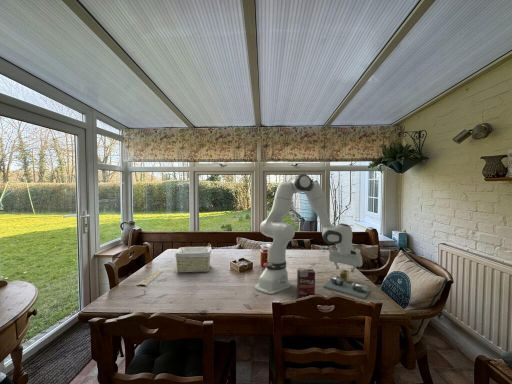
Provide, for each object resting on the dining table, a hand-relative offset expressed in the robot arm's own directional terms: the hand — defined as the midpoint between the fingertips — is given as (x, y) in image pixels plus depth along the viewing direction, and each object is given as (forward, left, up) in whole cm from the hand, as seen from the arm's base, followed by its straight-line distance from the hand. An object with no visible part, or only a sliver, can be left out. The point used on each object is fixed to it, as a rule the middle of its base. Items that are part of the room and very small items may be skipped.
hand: (345, 270), depth 149 cm
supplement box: (-39, +8, -7) cm, 40 cm away
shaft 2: (-11, -12, -7) cm, 18 cm away
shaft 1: (-10, +2, -7) cm, 12 cm away
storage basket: (-48, +92, -7) cm, 104 cm away
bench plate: (-12, -5, -7) cm, 14 cm away
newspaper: (-76, +101, -7) cm, 127 cm away
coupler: (-1, 0, -7) cm, 7 cm away
